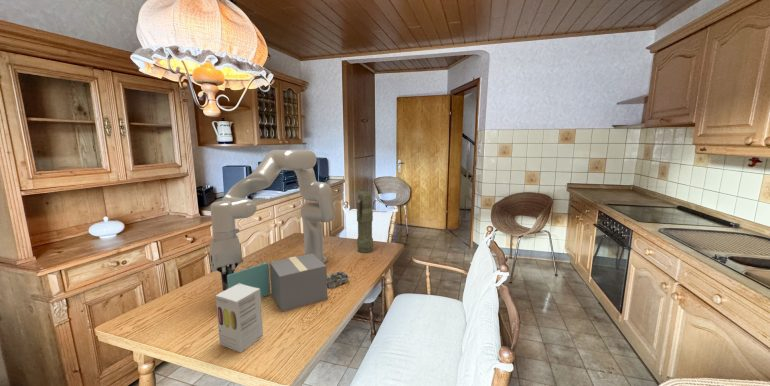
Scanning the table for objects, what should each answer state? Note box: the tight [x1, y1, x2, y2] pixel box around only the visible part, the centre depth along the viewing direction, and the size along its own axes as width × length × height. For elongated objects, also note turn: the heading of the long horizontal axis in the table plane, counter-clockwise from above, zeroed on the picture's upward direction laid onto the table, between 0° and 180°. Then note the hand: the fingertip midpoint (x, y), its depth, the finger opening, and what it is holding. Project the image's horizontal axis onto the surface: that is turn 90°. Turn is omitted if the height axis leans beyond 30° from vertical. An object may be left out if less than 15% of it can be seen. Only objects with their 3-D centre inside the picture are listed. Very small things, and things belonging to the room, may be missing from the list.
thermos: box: [356, 188, 374, 254], centre depth 177 cm, size 9×12×35 cm
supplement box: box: [215, 283, 264, 353], centre depth 99 cm, size 10×9×17 cm
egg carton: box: [327, 269, 350, 289], centre depth 140 cm, size 11×8×4 cm
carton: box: [269, 253, 328, 313], centre depth 127 cm, size 16×18×14 cm
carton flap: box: [220, 261, 271, 298], centre depth 124 cm, size 16×8×16 cm, turn 140°
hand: (228, 281), depth 119 cm, fingers closed
